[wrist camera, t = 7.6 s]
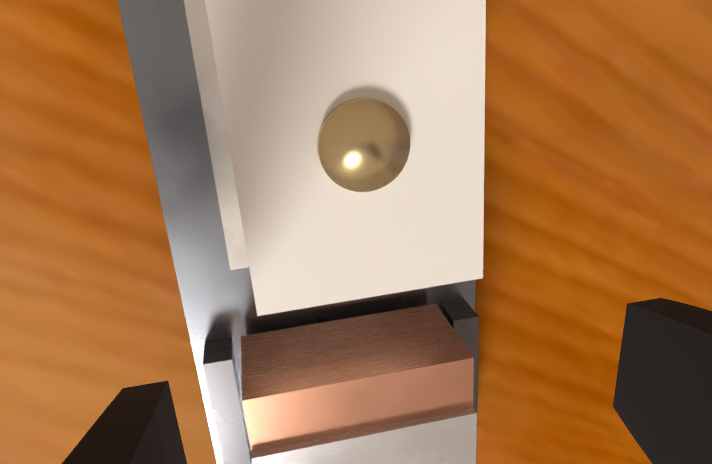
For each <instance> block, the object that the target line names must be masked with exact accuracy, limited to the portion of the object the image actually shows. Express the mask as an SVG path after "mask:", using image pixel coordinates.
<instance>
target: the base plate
mask: <svg viewBox="0 0 712 464" xmlns="http://www.w3.org/2000/svg"><path fill="white" fill-rule="evenodd" d="M118 5H119V9H120V14H121V19H122V23H123V28H124V33H125V37H126V42H127V47H128V51H129V56H130V61H131V65H132V70H133V75H134V79H135V84H136V89H137V93H138V98H139V103H140V107H141V112H142V117H143V121H144V126H145V131H146V135H147V140H148V145H149V149H150V154H151V159H152V163H153V168H154V173H155V177H156V182H157V187H158V191H159V196H160V201H161V205H162V210H163V215H164V219H165V224H166V229H167V233H168V238H169V243H170V247H171V252H172V257H173V261H174V266H175V271H176V275H177V280H178V285H179V289H180V294H181V299H182V303H183V308H184V313H185V317H186V322H187V327H188V331H189V336H190V341H191V345H192V350H193V355H194V359H195V364H196V369H197V373H198V378H199V383H200V387H201V392H202V397H203V401H204V406H205V411H206V415H207V420H208V425H209V429H210V434H211V439H212V443H213V448H214V453H215V457H216V462H217V464H252V457H251V447H250V442H249V436H248V431H247V425H246V420H245V414H244V409H243V403H242V372H241V336H245V335H251V334H257V333H263V332H269V331H275V330H281V329H287V328H293V327H299V326H305V325H311V324H317V323H323V322H329V321H335V320H341V319H347V318H352V317H358V316H364V315H370V314H376V313H382V312H388V311H394V310H400V309H406V308H412V307H418V306H424V305H430V304H436V305H437V306H438V307H439V309H440V310H441V312H442V313H443V315H444V316H445V317H446V319H447V320H448V322H449V323H450V325H451V326H452V327H453V329H454V330H455V332H456V333H457V335H458V336H459V337H460V339H461V340H462V342H463V343H464V345H465V346H466V347H467V349H468V350H469V352H470V353H471V355H472V356H473V357H474V380H473V408H474V409H475V411H476V412H477V400H478V330H479V316H478V315H477V314H476V313H475V292H476V280H470V281H464V282H458V283H452V284H446V285H440V286H434V287H428V288H422V289H416V290H410V291H404V292H398V293H392V294H386V295H380V296H374V297H368V298H362V299H356V300H351V301H345V302H339V303H333V304H327V305H321V306H315V307H309V308H303V309H297V310H291V311H285V312H279V313H273V314H267V315H261V316H257V311H256V305H255V299H254V293H253V287H252V281H251V275H250V269H249V263H248V257H247V251H246V244H245V238H244V232H243V226H242V220H241V214H240V208H239V202H238V196H237V190H236V184H235V178H234V172H233V166H232V160H231V154H230V148H229V142H228V136H227V130H226V124H225V118H224V112H223V106H222V100H221V94H220V88H219V81H218V75H217V69H216V63H215V57H214V51H213V45H212V39H211V33H210V27H209V21H208V15H207V9H206V3H205V0H118ZM476 464H477V440H476Z"/></svg>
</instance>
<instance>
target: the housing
mask: <svg viewBox="0 0 712 464" xmlns="http://www.w3.org/2000/svg"><path fill="white" fill-rule="evenodd" d="M205 3H206V9H207V15H208V21H209V27H210V33H211V39H212V45H213V51H214V57H215V63H216V69H217V75H218V81H219V88H220V94H221V100H222V106H223V112H224V118H225V124H226V130H227V136H228V142H229V148H230V154H231V160H232V166H233V172H234V178H235V184H236V190H237V196H238V202H239V208H240V214H241V220H242V226H243V232H244V238H245V244H246V251H247V257H248V263H249V269H250V275H251V281H252V287H253V293H254V299H255V305H256V311H257V316H261V315H267V314H273V313H279V312H285V311H291V310H297V309H303V308H309V307H315V306H321V305H327V304H333V303H339V302H345V301H351V300H356V299H362V298H368V297H374V296H380V295H386V294H392V293H398V292H404V291H410V290H416V289H422V288H428V287H434V286H440V285H446V284H452V283H458V282H464V281H470V280H476V279H481V278H483V226H484V129H485V33H486V0H205Z"/></svg>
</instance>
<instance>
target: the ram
mask: <svg viewBox="0 0 712 464" xmlns="http://www.w3.org/2000/svg"><path fill="white" fill-rule="evenodd" d="M241 372H242V403H243V409H244V414H245V420H246V425H247V431H248V436H249V442H250V447H251V457H252V464H476V440H477V412H476V411H475V409H474V408H473V380H474V357H473V356H472V355H471V353H470V352H469V350H468V349H467V347H466V346H465V345H464V343H463V342H462V340H461V339H460V337H459V336H458V335H457V333H456V332H455V330H454V329H453V327H452V326H451V325H450V323H449V322H448V320H447V319H446V317H445V316H444V315H443V313H442V312H441V310H440V309H439V307H438V306H437V305H436V304H430V305H424V306H418V307H412V308H406V309H400V310H394V311H388V312H382V313H376V314H370V315H364V316H358V317H352V318H347V319H341V320H335V321H329V322H323V323H317V324H311V325H305V326H299V327H293V328H287V329H281V330H275V331H269V332H263V333H257V334H251V335H245V336H241Z"/></svg>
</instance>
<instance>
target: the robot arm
mask: <svg viewBox="0 0 712 464" xmlns="http://www.w3.org/2000/svg"><path fill="white" fill-rule="evenodd" d="M613 407H614V409H615V410H616V412H617V413H618V415H619V416H620V418H621V419H622V421H623V422H624V424H625V425H626V427H627V428H628V430H629V431H630V433H631V434H632V436H633V437H634V439H635V440H636V441H637V443H638V444H639V446H640V447H641V448H642V450H643V451H644V453H645V454H646V455H647V457H648V458H649V460H650V461H651V462H652V463H653V464H712V311H709V310H706V309H702V308H699V307H695V306H692V305H688V304H684V303H680V302H676V301H672V300H668V299H663V298H658V299H652V300H646V301H640V302H634V303H628V304H627V308H626V316H625V323H624V330H623V337H622V345H621V352H620V359H619V367H618V374H617V381H616V388H615V396H614V403H613ZM62 464H187V462H186V458H185V453H184V449H183V444H182V440H181V436H180V431H179V427H178V422H177V418H176V414H175V409H174V405H173V400H172V396H171V392H170V387H169V383H168V381H164V382H158V383H152V384H146V385H140V386H134V387H128V388H123V389H122V390H121V391H120V393H119V394H118V395H117V396H116V397H115V399H114V400H113V401H112V402H111V403H110V405H109V406H108V407H107V408H106V409H105V411H104V412H103V413H102V414H101V416H100V417H99V418H98V419H97V421H96V422H95V423H94V424H93V426H92V427H91V428H90V429H89V431H88V432H87V433H86V434H85V436H84V437H83V438H82V439H81V441H80V442H79V443H78V444H77V446H76V447H75V448H74V449H73V451H72V452H71V453H70V454H69V456H68V457H67V458H66V459H65V460H64V462H63V463H62Z"/></svg>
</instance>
